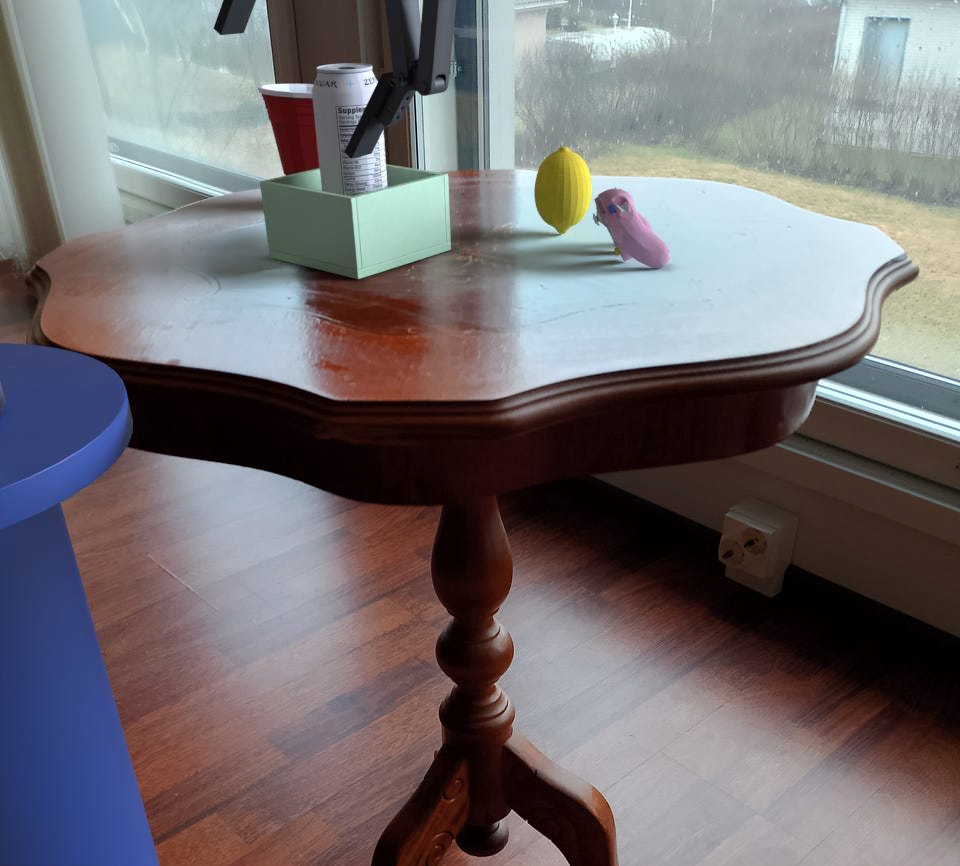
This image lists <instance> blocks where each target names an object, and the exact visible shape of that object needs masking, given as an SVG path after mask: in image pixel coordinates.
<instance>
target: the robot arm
mask: <svg viewBox="0 0 960 866" xmlns="http://www.w3.org/2000/svg"><path fill="white" fill-rule="evenodd" d="M256 1H257V0H222V3H221V5H220V8H219V12H218V14H217V16H216V20H215V23H214V25H213V30H214V31H215V32H216V33H218V34H219V36H227V35H235V34H236V35H237V34H238V35H239V34H245V31H246V28H247V27H248V23H249V20H250V17H251V15H252V12H253V9H254V8H255V5H256ZM384 4H385V5H384V6H385V13H386V23H387V32H388V40H389V48H390V58H391V67H392V71H389V72H382V73H381V75H380V77H379V79H378V80H377V81H378V83H377V85H376V87H375V89H374V91H373V93H372V95H371V97H370V99H369V102H368V104H367V106H366V108H365V110H364V112H363V114H362V116H361V118H360V120H359V122H358V124H357V126H356V128H355V131H354V133H353V135H352V137H351V139H350V141H349V143H348V145H347V147H346V149H345V151H344V152H345V153H346V154H347V155H348V156H349V157H350V158H351V159H353V158H357V157H361V156H365V155H368V154H372V152H373V150H374V148H375V146H376V144H377V142H378V140H379V138H380V136H381V134H382V132H383V130H384V129H385V128H388V127H393V126H396V125H398V124H399V123H400V122H401V121H402V119H403V117H404V116H405V113H406V112H407V109H408V108H409V105H410V104H411V102H412V99H413V98H414V96H415V94H416V92H417V93H418V94H419V95H421V96H422V97H427V96H431V95H437V94H443V93H445V92H447V90H448V89H449V82H450V72H451V63H452V61H451V59H452V53H453V52H452V51H453V41H454V40H453V39H454V31H455V29H454V28H455V21H456V20H455V19H456V9H457V0H422V8H421V11H420V1H419V0H384ZM384 131H385V130H384ZM5 406H6V401H5V397H4V393H3V390H2V386H1V383H0V416H1V415H2V413H3V412H4V409H5Z"/></svg>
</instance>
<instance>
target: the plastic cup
mask: <svg viewBox="0 0 960 866" xmlns="http://www.w3.org/2000/svg"><path fill="white" fill-rule="evenodd" d="M313 85H314V83H270V84H262V85H259V86H257V90H258V93H260V94H261V97H262V100H263V102H264V106H265V109H266V112H267V116H268V120H269V122H270V125H271V129H272V133H273V137H274V140H275V144H276V148H277V153H278V156H279V159H280V164H281V167H282V171H283V174H284V176H286V175H291V174H295V173H300V172H304V171H309V170H313V169H318V168H320V166H319V156H318V146H317V137H316V127H315V117H314V107H313V98H312V88H313Z"/></svg>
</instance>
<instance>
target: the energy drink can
mask: <svg viewBox="0 0 960 866" xmlns="http://www.w3.org/2000/svg"><path fill="white" fill-rule="evenodd" d="M316 73H317V74H316V78H315V80H314V83H313V84H314V85H313V88H312V98H313V107H314V117H315V127H316V137H317V146H318V156H319V166H320V176H321V185H322V191H324V192H329V193H335V194H340V195H346V196H351V197H352V196H355V195H359V194H363V193H367V192H371V191H375V190H379V189H383V188H387V187H388V186H387V172H386V164H387V158H386V145H385V144H386V143H385V132H384V131H385V130H383V132H382V134H381V136H380V138H379V140H378V142H377V144H376V146H375V148H374V150H373V152H372V154H368V155H365V156H361V157H357V158H353V159H351V158H350V157H349V156H348V155H347V154H346V153H345V152H344V151H345V149H346V147H347V145H348V143H349V141H350V139H351V137H352V135H353V133H354V131H355V128H356V126H357V124H358V122H359V120H360V118H361V116H362V114H363V112H364V110H365V108H366V106H367V104H368V102H369V99H370V97H371V95H372V93H373V91H374V89H375V87H376V85H377V83H378V81H379V80H377V78H376V75H375V74H374V72H373V65H372V64H371V63H364V62H363V63H362V62H361V63H359V62H347V63H346V62H345V63H330V64H324V65H319V66H317V67H316Z"/></svg>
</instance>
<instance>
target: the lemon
mask: <svg viewBox="0 0 960 866" xmlns="http://www.w3.org/2000/svg"><path fill="white" fill-rule="evenodd" d="M591 177H592V176H591V172H590V170H589V166H588V165H587V163H586V161H585V159H584V158H583V157H581V156H580V155H579V154H578V153H577V152H574V151H572V150H570V148H569V147H568V146H560V147H559V148H558V150H556V151H554V152H552V153H550V154H549V155H548V156H546V157H545V158H544V159H543V161H542V162H541V163H540V165H539V167H538V170H537V173H536V177H535V182H534V193H533V194H534V195H533V197H534V203H535V208H536V211H537V213H538V215H539V216H540V218H541V219H542V220H543V222H544V223H546V224H547V225H549V226H550V227H553V228H554V230H555V231H556V232H557V233H558V234H560V235H564V234H566V233H567V232H568V231H569V230H570V229H571V227H574V226H576V225H577V224H579V223H580V222H582V220H583V219H584V218H585V216H586V214H587V212H588V211H589V208H590V206H591V201H592V195H593V194H592V193H593V190H592V189H593V185H592V178H591Z"/></svg>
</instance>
